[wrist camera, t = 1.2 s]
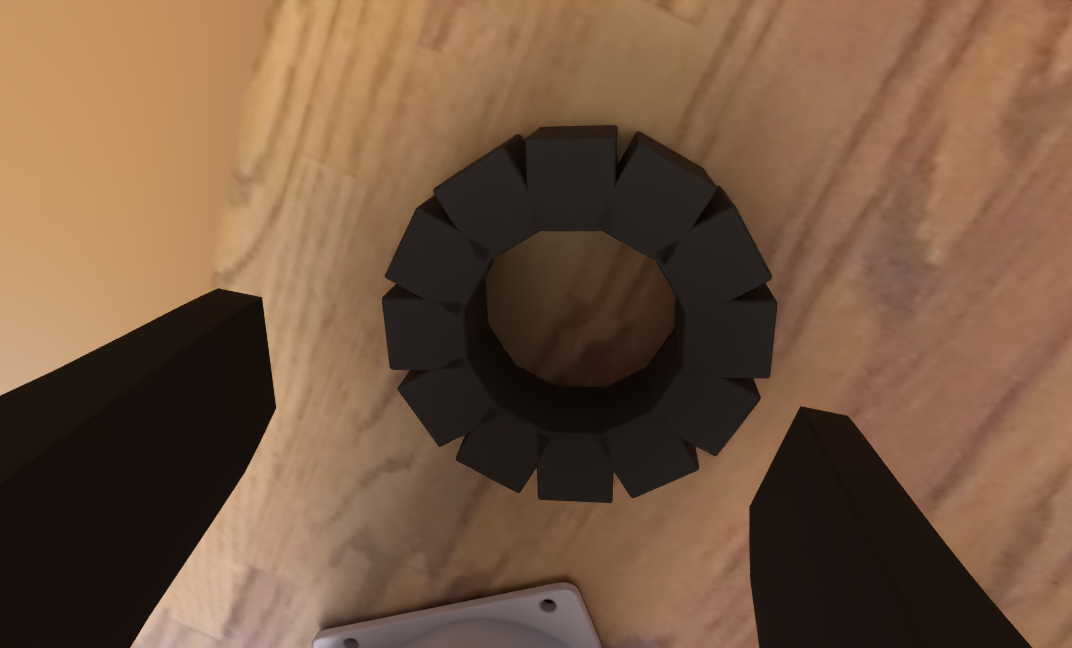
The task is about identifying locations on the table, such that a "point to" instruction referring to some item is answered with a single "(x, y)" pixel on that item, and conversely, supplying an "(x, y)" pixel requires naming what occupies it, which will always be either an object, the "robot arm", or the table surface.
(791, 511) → the robot arm
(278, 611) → the table surface
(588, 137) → the tire
